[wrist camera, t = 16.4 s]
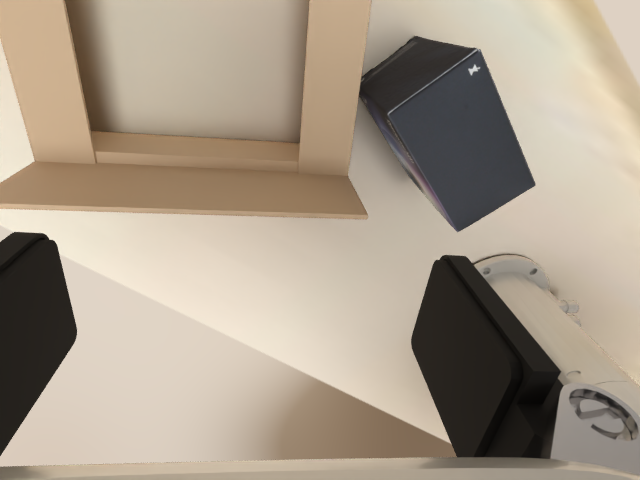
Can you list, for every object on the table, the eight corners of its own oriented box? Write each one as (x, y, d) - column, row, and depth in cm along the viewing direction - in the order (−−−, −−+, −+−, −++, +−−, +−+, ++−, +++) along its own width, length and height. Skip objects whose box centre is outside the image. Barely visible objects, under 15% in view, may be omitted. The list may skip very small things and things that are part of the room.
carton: (367, -109, 25) (438, -196, 15) (336, 157, 34) (367, 219, 24) (-2, -169, 22) (-240, -335, 12) (70, 143, 31) (-29, 207, 20)
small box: (347, 85, 31) (381, 114, 22) (417, 32, 30) (483, 39, 21) (408, 182, 36) (456, 237, 27) (470, 140, 35) (542, 184, 26)
